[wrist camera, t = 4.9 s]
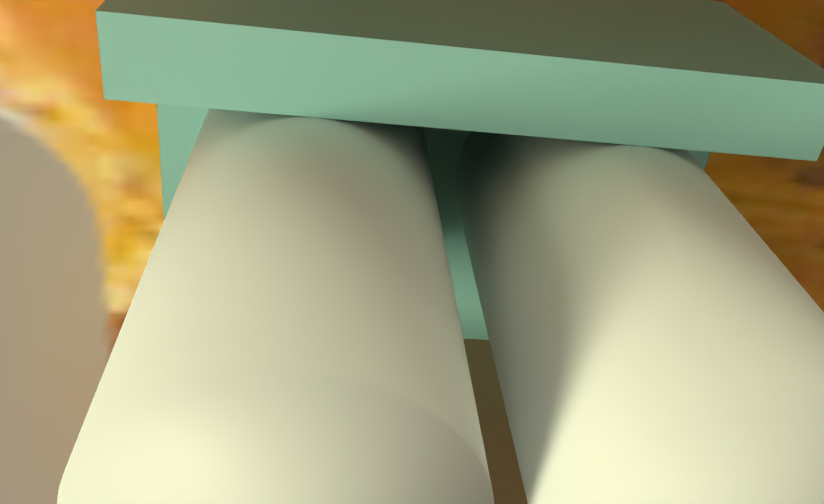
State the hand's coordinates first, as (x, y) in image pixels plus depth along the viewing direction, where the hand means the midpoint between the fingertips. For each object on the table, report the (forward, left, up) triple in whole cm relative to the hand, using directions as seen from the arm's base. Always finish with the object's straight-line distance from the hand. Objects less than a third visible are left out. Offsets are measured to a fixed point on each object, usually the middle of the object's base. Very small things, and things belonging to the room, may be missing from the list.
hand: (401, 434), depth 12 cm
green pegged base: (0, 0, -1) cm, 1 cm away
